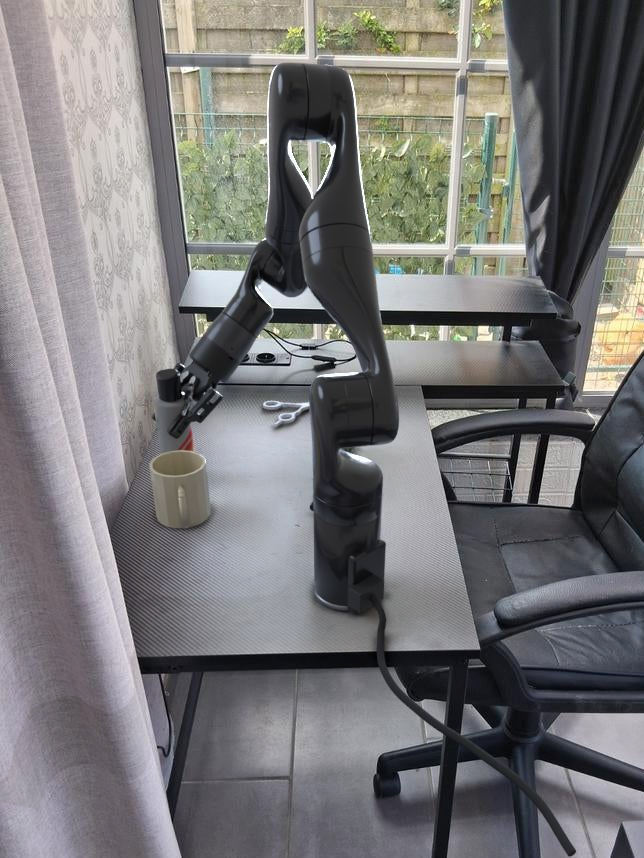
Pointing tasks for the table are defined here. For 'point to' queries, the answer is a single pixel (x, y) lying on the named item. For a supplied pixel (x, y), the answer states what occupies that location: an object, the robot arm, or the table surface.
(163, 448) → the lotion bottle
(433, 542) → the table surface
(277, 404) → the scissors
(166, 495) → the mug
